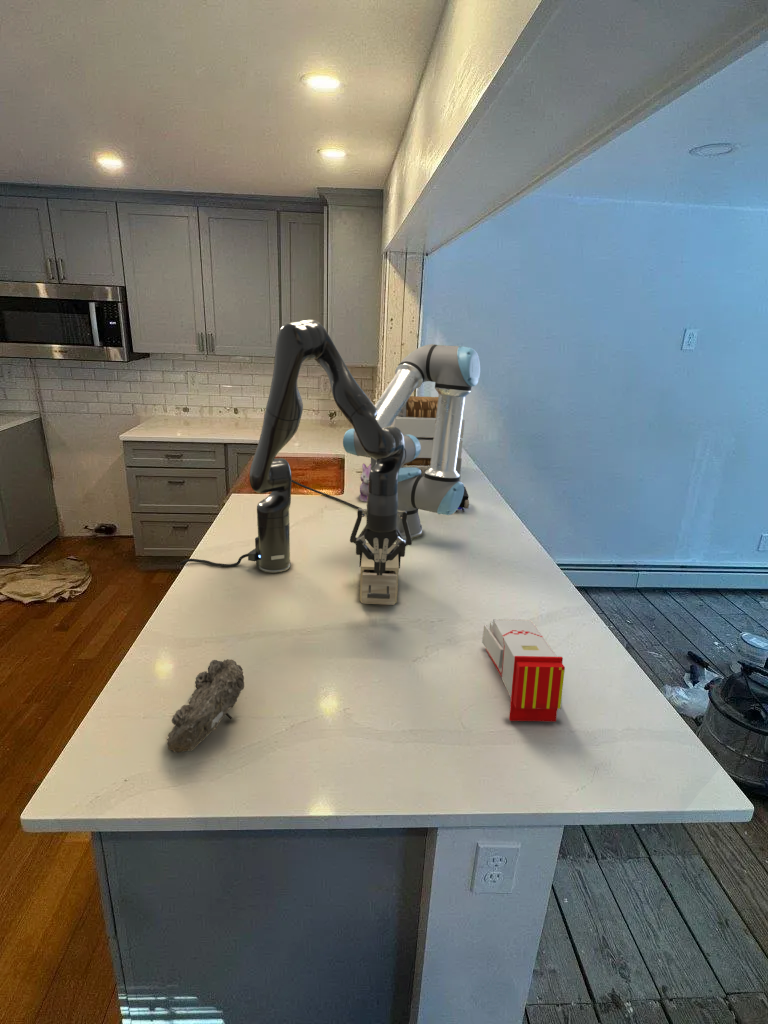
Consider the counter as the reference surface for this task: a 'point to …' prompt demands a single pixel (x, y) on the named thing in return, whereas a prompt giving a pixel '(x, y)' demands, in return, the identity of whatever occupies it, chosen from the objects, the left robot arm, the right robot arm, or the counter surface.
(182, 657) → the counter surface
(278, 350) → the left robot arm
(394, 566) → the cabinet
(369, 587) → the drawer
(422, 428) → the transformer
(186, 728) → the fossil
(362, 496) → the figurine
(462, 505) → the figurine character
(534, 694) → the toy
